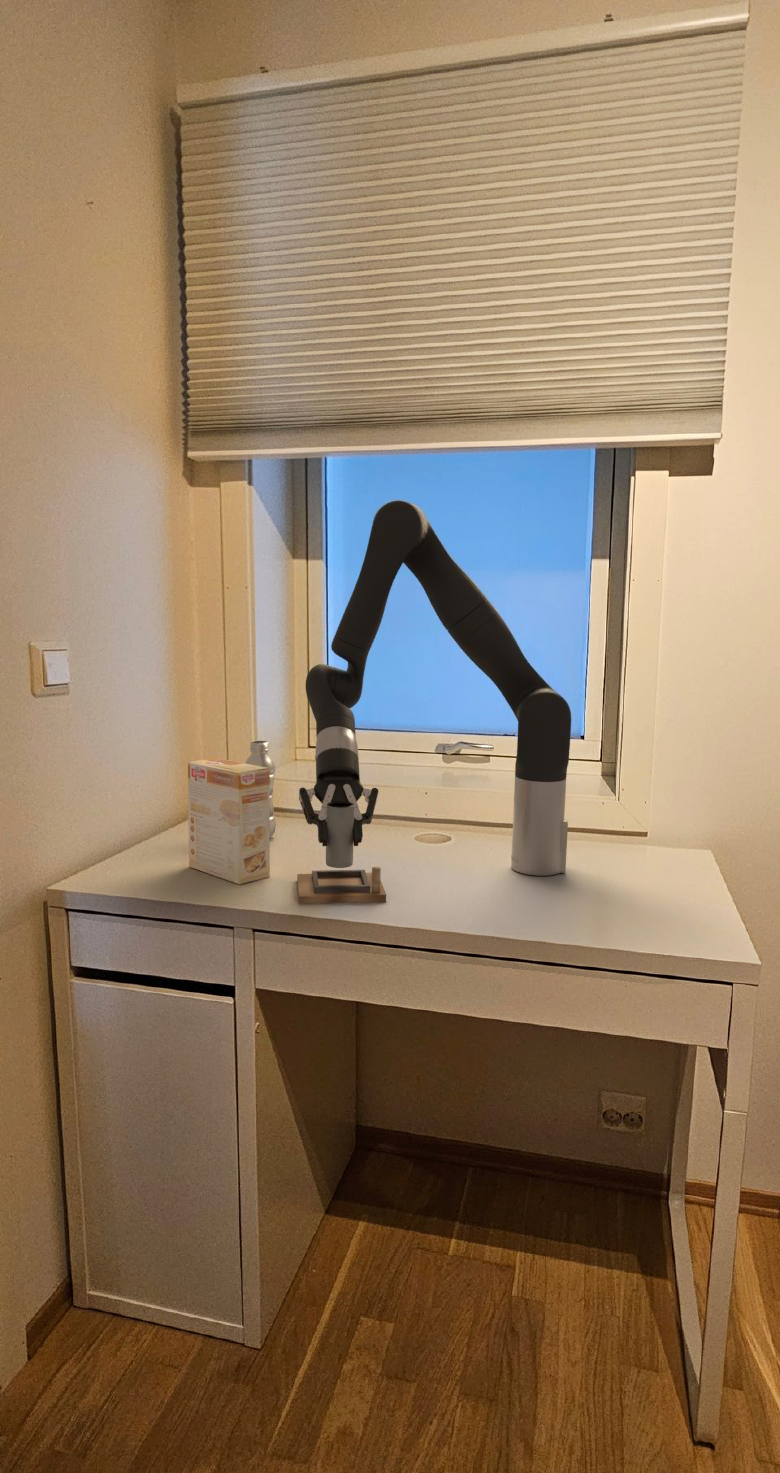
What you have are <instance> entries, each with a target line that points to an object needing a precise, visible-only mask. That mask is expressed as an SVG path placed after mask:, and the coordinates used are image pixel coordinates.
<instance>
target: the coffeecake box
mask: <svg viewBox="0 0 780 1473" xmlns="http://www.w3.org/2000/svg"><path fill="white" fill-rule="evenodd" d="M187 787H188V789H187V792H188V793H187V794H188V797H187V798H188V799H187V800H188V801H187V804H188V867H189V868H192V869H194V870H197V871H200V872H203V873H206V874H209V875H211V876H215V877H217V878H220V879H222V880H226V881H227V882H228V881H229V882H231V883H235V884H237V885H243V884H247V883H250V882H254V881H258V880H263V879H267V878H270V877H271V875H270V874H271V872H270V871H271V870H270V868H271V867H270V866H271V865H270V861H271V860H270V858H271V857H270V852H271V851H270V850H271V849H270V848H271V847H270V846H271V844H270V838H271V837H270V768H266V767H261V766H255V765H250V764H245V762H241V761H240V762H238V761H235V760H234V761H233V760H228V759H223V758H218V757H216V758H214V757H213V758H207V759H200V760H192V761H188V762H187Z"/></svg>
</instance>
